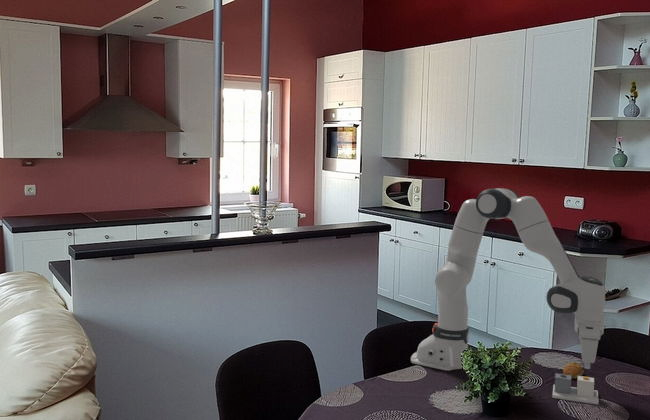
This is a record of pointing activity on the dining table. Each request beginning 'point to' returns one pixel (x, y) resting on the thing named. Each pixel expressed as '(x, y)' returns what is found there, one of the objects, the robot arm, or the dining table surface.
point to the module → (585, 386)
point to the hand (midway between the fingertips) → (587, 367)
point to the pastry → (573, 370)
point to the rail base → (576, 397)
